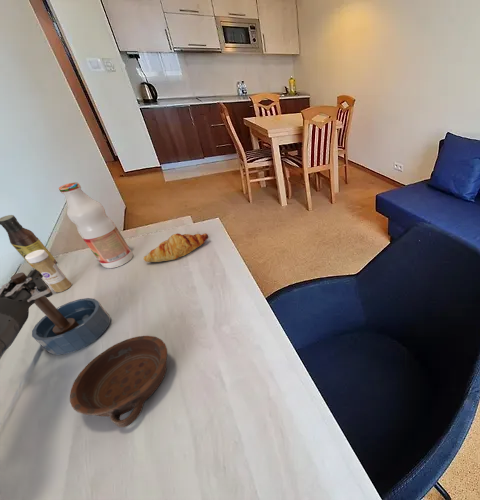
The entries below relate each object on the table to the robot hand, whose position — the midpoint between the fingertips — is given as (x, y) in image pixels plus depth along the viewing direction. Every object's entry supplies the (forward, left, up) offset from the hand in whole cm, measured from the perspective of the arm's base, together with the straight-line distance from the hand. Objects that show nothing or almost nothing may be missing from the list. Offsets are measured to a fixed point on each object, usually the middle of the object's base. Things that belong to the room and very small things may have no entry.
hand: (29, 275), depth 67 cm
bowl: (0, -1, -19) cm, 20 cm away
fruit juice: (+3, +33, -20) cm, 39 cm away
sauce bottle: (-21, +43, -20) cm, 52 cm away
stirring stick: (0, -3, -16) cm, 16 cm away
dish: (+15, -24, -20) cm, 34 cm away
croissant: (+23, +28, -20) cm, 41 cm away
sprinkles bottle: (-11, +25, -20) cm, 34 cm away
